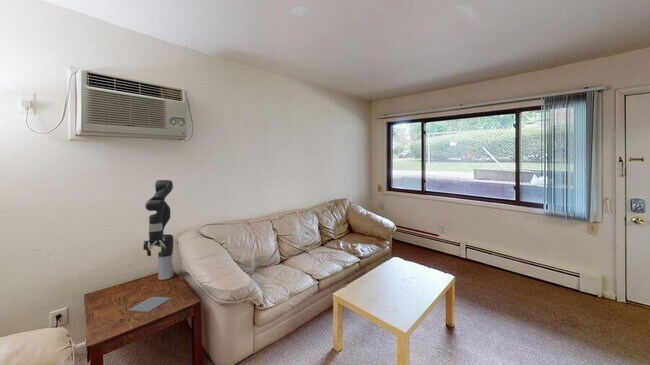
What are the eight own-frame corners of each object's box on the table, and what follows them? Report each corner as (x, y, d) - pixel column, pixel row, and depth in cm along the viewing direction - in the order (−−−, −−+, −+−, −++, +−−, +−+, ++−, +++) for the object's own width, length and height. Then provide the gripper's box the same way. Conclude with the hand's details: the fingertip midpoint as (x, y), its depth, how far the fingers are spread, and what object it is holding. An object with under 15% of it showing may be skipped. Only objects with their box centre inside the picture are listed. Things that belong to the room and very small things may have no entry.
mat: (152, 297, 167) (152, 296, 167) (171, 298, 165) (171, 297, 165) (127, 311, 149) (127, 310, 149) (148, 312, 147) (148, 311, 147)
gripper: (163, 227, 175) (163, 250, 176) (140, 231, 162) (141, 256, 163) (169, 228, 172) (170, 252, 172) (147, 232, 159) (148, 258, 159)
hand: (156, 254), depth 168 cm, fingers open, 8 cm apart
